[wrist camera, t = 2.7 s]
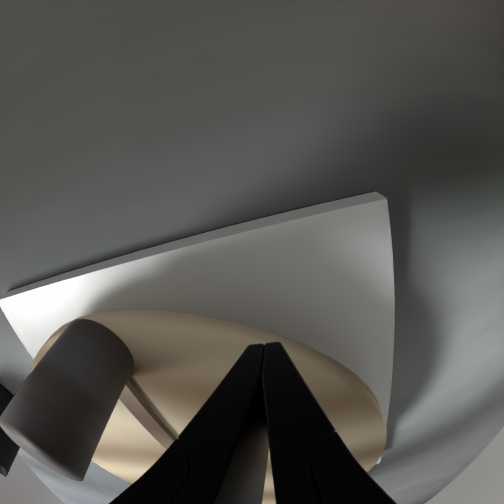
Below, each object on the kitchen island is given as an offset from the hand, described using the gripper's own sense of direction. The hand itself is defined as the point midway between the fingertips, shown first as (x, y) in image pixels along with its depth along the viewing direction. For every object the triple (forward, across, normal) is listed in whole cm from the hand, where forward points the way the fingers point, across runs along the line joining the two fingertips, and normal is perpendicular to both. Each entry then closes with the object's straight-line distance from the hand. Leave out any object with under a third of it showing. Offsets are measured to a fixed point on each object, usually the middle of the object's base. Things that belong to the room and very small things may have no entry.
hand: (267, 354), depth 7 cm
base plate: (+6, +6, +10) cm, 13 cm away
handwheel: (+4, +6, +10) cm, 12 cm away
